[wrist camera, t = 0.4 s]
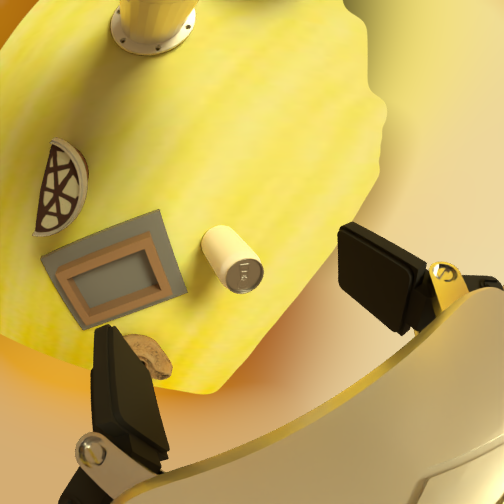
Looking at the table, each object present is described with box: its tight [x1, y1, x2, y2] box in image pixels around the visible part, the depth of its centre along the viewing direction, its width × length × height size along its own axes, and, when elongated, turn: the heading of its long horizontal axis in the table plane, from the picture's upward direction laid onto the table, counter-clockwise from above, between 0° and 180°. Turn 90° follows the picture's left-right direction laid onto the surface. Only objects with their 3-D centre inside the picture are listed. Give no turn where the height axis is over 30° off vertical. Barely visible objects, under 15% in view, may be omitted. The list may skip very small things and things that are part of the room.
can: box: [201, 225, 264, 294], centre depth 42 cm, size 6×6×12 cm
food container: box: [32, 137, 89, 236], centre depth 28 cm, size 12×6×10 cm, turn 155°
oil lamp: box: [123, 334, 173, 380], centre depth 46 cm, size 11×15×8 cm
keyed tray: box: [41, 209, 188, 330], centre depth 40 cm, size 16×22×4 cm
